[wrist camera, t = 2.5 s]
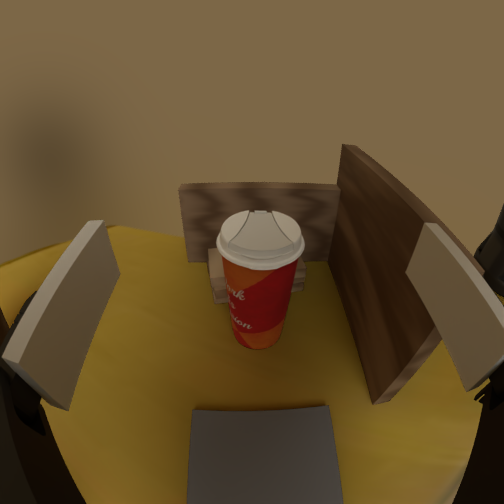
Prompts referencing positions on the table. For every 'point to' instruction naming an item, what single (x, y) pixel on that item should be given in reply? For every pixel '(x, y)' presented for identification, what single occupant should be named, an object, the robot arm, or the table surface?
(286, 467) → the rubber mat
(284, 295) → the paper cup
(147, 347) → the table surface
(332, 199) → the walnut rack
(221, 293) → the offcut stack
